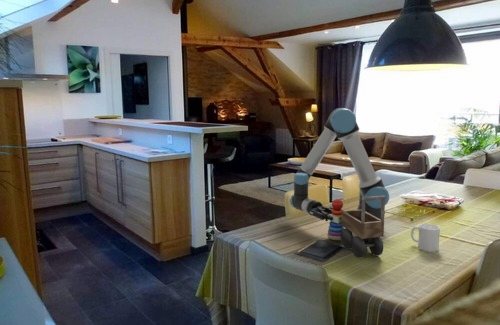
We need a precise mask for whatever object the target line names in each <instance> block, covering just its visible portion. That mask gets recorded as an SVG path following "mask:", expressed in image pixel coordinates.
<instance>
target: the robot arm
mask: <svg viewBox="0 0 500 325" xmlns="http://www.w3.org/2000/svg"><path fill="white" fill-rule="evenodd" d="M359 131H360V127H359V125H358V123H357V119H356V115H355V113H354V112H353V111H352V110H351V109H348V108H346V107H336V108H335V109H333V110H332V111H331V112H330V114H329V116H328V118H327V120H326V123H324V126H323V130H322V132H321V134H320V135H319V136H318V138H317V141H316V142H315V143H314V145H313V147H311V149H310V151H309V153H308V154H307V156H306V158H305V160H304V161H303V162H302V164H301V166H300V168H299V169H298V170H297V172H296V173H295V174H294V175H293V194H292V195H291V196H290V200H289V204H290V206H291V207H292V208H294V209H295V210H299V211H301V212H304V213H307V215H310V216H313V217H315V218H317V219H318V220H319V219H320V220H321V221H324V220H325V221H324V222H328V221H329V222H330V221H333V222H335V223H339V217H337V216H334V215H331V214H332V209H334V208H333V207H332V205H329V207H328V206H325V205H323V204H322V202H320V201H318V200H315V199H313V198H309V181H310V179H311V177H312V176H313V174H314V172H315V170H316V169H317V167H318V166H319V165H320V163H321V161H322V160H323V158H324V157H325V155H326V153H327V151H329V149H330V147H331V146H332V144H333V143H334V141H335V139H336V138H337V139H338V140H341V142H342V144H343V146H344V149H345V150H346V153H347V156H348V158H349V159H350V160H349V161H350V163H351V164H352V167H353V168H354V172H355V174H356V175H357V177H358V180H359V182H358V183H359V184H358V188H359V192H358V194H359V199H358V200H359V201H358V206H357V208H356V210H361V209H362V200H361V199H362V197H373V196H385V197H386V199H385V206H386V205H387V204H388V203H389V200H390V194H389V191H388V190H387V188H386V186H385V185H384V183H383V179H382V177H380V176H378V175H377V174H376V172H375V169H374V167H373V165H372V163H371V161H370V158H369V155H368V153H367V151H366V148H365V146H364V144H363V141H362V140H361V137H360V135H359ZM341 210H342V211H345V210H343V209H341ZM365 212H367V213H369V214H371V215H373V216H375V217H377V218H379V219H381V200H373V201H365Z"/></svg>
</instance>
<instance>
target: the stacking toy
mask: <svg viewBox="0 0 500 325" xmlns="http://www.w3.org/2000/svg"><path fill="white" fill-rule="evenodd" d="M331 206H332V207H333V208H334V209H332V214H331V215H334V216H337V217H339V223H335V222H333V221H330V220H329V225H328V229H327V234H326V236H327V237H328V239H330V240H333V241H341V231H342V229H344V228H345V227H343V226H342V225H341V211H342V210H343V207H344V203H343V201H342V200H341V199H338V198H337V199H336V198H335V199H334V200H333V201H332V203H331Z"/></svg>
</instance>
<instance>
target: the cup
mask: <svg viewBox="0 0 500 325" xmlns="http://www.w3.org/2000/svg"><path fill="white" fill-rule="evenodd" d="M415 230H418V238H415V236H414V233H415ZM440 233H441V227H440V226H439V225H437V224H432V223H421V224H419V225H418V226H413V227H412V228H411V231H410V236H411V239H412V241H413V242H415V243H417V246H418V248H419V250H421V251H423V252H428V253H435V252H438V250H439V247H440Z"/></svg>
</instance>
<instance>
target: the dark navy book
mask: <svg viewBox="0 0 500 325" xmlns="http://www.w3.org/2000/svg"><path fill="white" fill-rule="evenodd" d="M344 249H345V248H344V246H343V245H340V244H335V243H330V242H326V241H322V240H314V241H312V242H311V243H310V244H307V245H306V246H304V247H303V248H301V249H299V250H297V251H296V252H294V253H293V254H294V255H296V256H297V255H298V256H301V257H303V258H308V259H310V260H314V261H316V262H317V261H318V262H323V263H324V262H327V261H328V260H329V259H331V258H332V257H334V256H335V255H336V254H338V253H339V252H342V250H344Z"/></svg>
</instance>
